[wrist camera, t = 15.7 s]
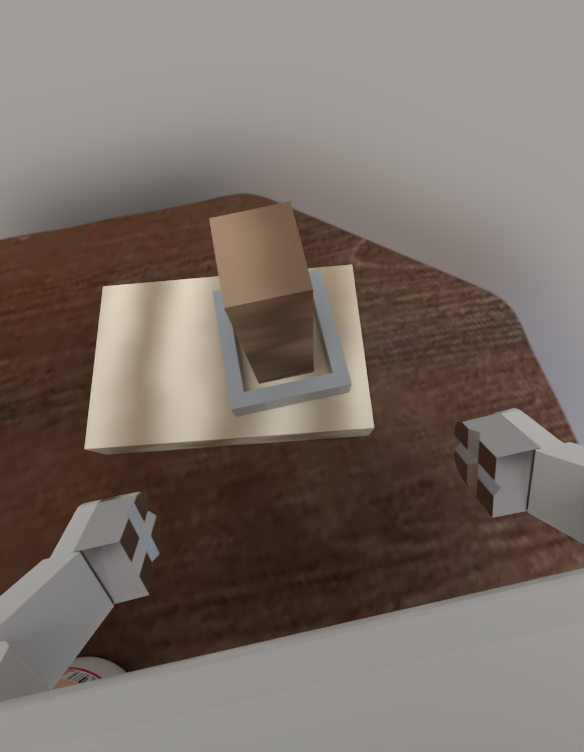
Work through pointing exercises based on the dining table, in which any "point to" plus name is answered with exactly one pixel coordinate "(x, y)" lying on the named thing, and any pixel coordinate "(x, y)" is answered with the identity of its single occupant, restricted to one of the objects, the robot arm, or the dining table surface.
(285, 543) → the dining table surface
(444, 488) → the dining table surface
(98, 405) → the stand
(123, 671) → the fruit juice
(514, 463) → the robot arm
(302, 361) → the long tan wooden beam
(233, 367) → the grey square frame
